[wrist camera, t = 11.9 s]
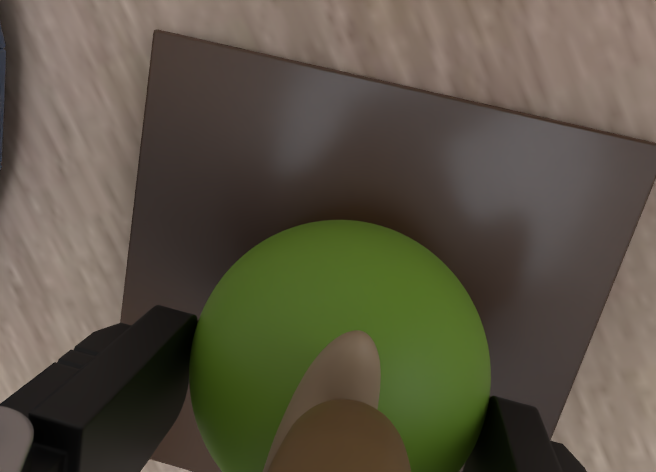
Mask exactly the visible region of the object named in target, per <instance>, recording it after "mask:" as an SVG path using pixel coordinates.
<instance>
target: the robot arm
mask: <svg viewBox="0 0 656 472" xmlns="http://www.w3.org/2000/svg"><path fill="white" fill-rule="evenodd" d="M197 323H198V319H197V316H196V315H194V314H191V313H187V312H183V311H179V310H176V309H172V308H168V307H164V306H161V305H156V306H154V307H153V308H152V309H150V310H149V311H148V312H147V313H146V314H144V315H143V316H142V317H141V318H140V319H139V320H137V321H136V322H135V323H134V324H133V325H127V324H124V323H118V324H116V325H113V326H110V327H107V328H104V329H101V330H98V331H96V332H93V333H92V334H91V335H89V336H88V337H87V338H86V339H84V340H83V341H82V342H80V343H79V344H78V345H76V346H75V348H74V350H70V351H69V352H67V353H66V354H65V355H63V356H62V357H61V358H59V360H58V362H57V363H56V362H54V363H53V364H52V365H50V366H49V367H48V368H46V369H45V370H44V371H42V372H41V373H40V374H39V375H37V376H36V377H35V378H33V379H32V380H31V381H29V382H28V383H27V384H26V385H24V386H23V387H22V388H20V389H19V390H18V391H16V392H15V393H14V394H12V395H11V396H10V397H9V398H7V399H6V400H5V401H3V402H2V403H1V404H0V472H140V471H141V470H142V468H143V467H144V466H145V464H146V463H147V461H148V460H149V459H150V457H151V456H152V454H153V453H154V451H155V450H156V449H157V447H158V446H159V444H160V443H161V441H162V440H163V439H164V437H165V436H166V434H167V433H168V432H169V430H170V429H171V427H172V426H173V424H174V423H175V421H176V420H177V418H178V416H179V414H180V412H181V409H182V407H183V404H184V401H185V398H186V394H187V390H188V384H189V363H190V353H191V347H192V342H193V337H194V333H195V330H196V326H197ZM463 472H586V470H585V468H584V467H583V466H582V465H581V463H580V462H579V461H578V460H577V459H576V458H575V457H574V456H573V455H572V454H571V452H570V451H569V450H568V449H567V448H566V447H565V446H564V445H563V444H561V443H557V442H553V441H550V439H549V436H548V434H547V431H546V429H545V426H544V424H543V421H542V419H541V416H540V414H539V411H538V409H537V408H536V407H534V406H531V405H527V404H523V403H519V402H516V401H512V400H508V399H505V398H501V397H497V396H491V397H490V398H489V403H488V409H487V413H486V417H485V421H484V424H483V427H482V430H481V433H480V435H479V438H478V440H477V442H476V444H475V446H474V448H473V450H472V452H471V454H470V456H469V457H468V459H467V461H466V462H465V465H464V468H463Z"/></svg>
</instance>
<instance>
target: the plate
mask: <svg viewBox="0 0 656 472" xmlns="http://www.w3.org/2000/svg"><path fill="white" fill-rule="evenodd" d="M5 47H6V44H5V39H4V35H3V31H2V27H1V22H0V170H1V168H2V165H1V163H2V153H3V128H4V103H5V78H6V50H5V49H3V48H5Z"/></svg>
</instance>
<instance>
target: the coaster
mask: <svg viewBox="0 0 656 472" xmlns="http://www.w3.org/2000/svg"><path fill="white" fill-rule="evenodd" d="M655 179H656V143H654V142H649V141H645V140H641V139H636V138H632V137H627V136H623V135H619V134H614V133H610V132H605V131H601V130H597V129H592V128H588V127H584V126H579V125H575V124H570V123H566V122H562V121H557V120H553V119H548V118H544V117H540V116H535V115H531V114H526V113H522V112H518V111H513V110H509V109H504V108H500V107H496V106H491V105H487V104H483V103H478V102H474V101H469V100H465V99H461V98H456V97H452V96H447V95H443V94H439V93H434V92H430V91H425V90H421V89H417V88H412V87H408V86H403V85H399V84H395V83H390V82H386V81H382V80H377V79H373V78H368V77H364V76H360V75H355V74H351V73H346V72H342V71H338V70H333V69H329V68H324V67H320V66H316V65H311V64H307V63H302V62H298V61H294V60H289V59H285V58H280V57H276V56H272V55H267V54H263V53H259V52H254V51H250V50H245V49H241V48H237V47H232V46H228V45H223V44H219V43H215V42H210V41H206V40H201V39H197V38H193V37H188V36H184V35H179V34H175V33H171V32H166V31H162V30H158V29H157V30H154V34H153V42H152V51H151V60H150V69H149V77H148V86H147V95H146V103H145V112H144V121H143V129H142V138H141V147H140V156H139V164H138V173H137V182H136V190H135V199H134V208H133V216H132V225H131V234H130V243H129V251H128V260H127V269H126V277H125V286H124V295H123V303H122V312H121V321H120V323H124V324H127V325H133V324H134V323H135V322H136V321H137V320H139V319H140V318H141V317H142V316H143V315H144V314H146V313H147V312H148V311H149V310H150V309H152V308H153V307H154V306H156V305H161V306H164V307H168V308H172V309H176V310H179V311H183V312H187V313H191V314H194V315H196V316H197V319H198V320H199V318H200V315H201V313H202V311H203V308H204V306H205V304H206V302H207V300H208V298H209V297H210V295H211V293H212V291H213V290H214V288H215V287H216V285H217V284H218V282H219V281H220V280H221V278H222V277H223V276H224V275H225V273H226V272H227V271H228V270H229V269H230V268H231V267H232V266H233V265H234V264H235V263H236V262H237V261H238V260H239V259H240V258H241V257H242V256H243V255H244V254H246V253H247V252H248V251H249V250H251V249H252V248H253V247H255V246H256V245H258V244H259V243H261V242H262V241H264V240H266V239H268V238H269V237H271V236H273V235H275V234H277V233H280V232H282V231H284V230H287V229H290V228H292V227H296V226H299V225H302V224H306V223H311V222H317V221H325V220H353V221H361V222H367V223H372V224H376V225H380V226H383V227H386V228H389V229H392V230H394V231H397V232H399V233H401V234H403V235H405V236H407V237H409V238H411V239H413V240H414V241H416V242H418V243H419V244H421V245H422V246H424V247H425V248H427V249H428V250H429V251H431V252H432V253H433V254H434V255H436V256H437V257H438V258H439V259H440V260H441V261H442V262H443V263H444V264H445V265H446V266H447V267H448V268H449V269H450V270H451V271H452V272H453V273H454V275H455V276H456V277H457V278H458V280H459V281H460V282H461V284H462V285H463V287H464V288H465V290H466V291H467V293H468V294H469V296H470V298H471V300H472V302H473V304H474V306H475V308H476V310H477V312H478V314H479V317H480V319H481V322H482V325H483V328H484V331H485V335H486V339H487V343H488V349H489V356H490V365H491V387H490V397H491V396H497V397H501V398H505V399H508V400H512V401H516V402H519V403H523V404H527V405H531V406H534V407H536V408H537V409H538V411H539V414H540V416H541V419H542V421H543V424H544V426H545V429H546V431H547V434H548V436H549V439H550V440H551V437H552V435H553V432H554V430H555V427H556V425H557V422H558V420H559V417H560V415H561V412H562V410H563V407H564V405H565V403H566V400H567V398H568V395H569V393H570V390H571V388H572V385H573V383H574V380H575V378H576V375H577V373H578V370H579V368H580V365H581V363H582V360H583V358H584V355H585V353H586V350H587V348H588V345H589V343H590V340H591V338H592V335H593V333H594V330H595V328H596V325H597V323H598V320H599V318H600V315H601V313H602V310H603V308H604V306H605V303H606V301H607V298H608V296H609V293H610V291H611V288H612V286H613V283H614V281H615V278H616V276H617V273H618V271H619V268H620V266H621V263H622V261H623V258H624V256H625V253H626V251H627V248H628V246H629V243H630V241H631V238H632V236H633V233H634V231H635V228H636V226H637V223H638V221H639V218H640V216H641V214H642V211H643V209H644V206H645V204H646V201H647V199H648V196H649V194H650V191H651V189H652V186H653V184H654V181H655ZM490 397H489V398H490ZM150 459H152V460H155V461H159V462H162V463H166V464H169V465H173V466H176V467H179V468H183V469H186V470H190V471H193V472H222V471H221V470H220V468H219V467H218V465H217V464H216V462H215V461H214V459H213V458H212V456H211V454H210V453H209V451H208V449H207V447H206V445H205V443H204V441H203V439H202V436H201V434H200V431H199V429H198V426H197V423H196V419H195V416H194V412H193V407H192V402H191V396H190V386H189V384H188V390H187V394H186V398H185V401H184V404H183V407H182V409H181V412H180V414H179V416H178V418H177V420H176V421H175V423H174V424H173V426H172V427H171V429H170V430H169V432H168V433H167V434H166V436H165V437H164V439H163V440H162V441H161V443H160V444H159V446H158V447H157V449H156V450H155V451H154V453H153V454H152V456H151V457H150ZM464 465H465V464H464ZM464 465H463V467H462V468H461V470H460V471H459V472H463V468H464Z"/></svg>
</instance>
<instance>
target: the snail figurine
mask: <svg viewBox="0 0 656 472" xmlns="http://www.w3.org/2000/svg"><path fill="white" fill-rule="evenodd" d="M189 386H190V396H191V402H192V407H193V412H194V416H195V419H196V423H197V426H198V429H199V431H200V434H201V436H202V439H203V441H204V443H205V445H206V447H207V449H208V451H209V453H210V454H211V456H212V458H213V459H214V461H215V462H216V464H217V465H218V467H219V468H220V470H221V471H222V472H459V471H460V470H461V468H462V467H463V465H464V464H465V462H466V461H467V459H468V457H469V456H470V454H471V452H472V450H473V448H474V446H475V444H476V442H477V440H478V438H479V435H480V433H481V430H482V427H483V424H484V421H485V417H486V413H487V409H488V403H489V397H490V387H491V365H490V356H489V349H488V343H487V339H486V335H485V331H484V328H483V325H482V322H481V319H480V317H479V314H478V312H477V310H476V308H475V306H474V304H473V302H472V300H471V298H470V296H469V294H468V293H467V291H466V290H465V288H464V287H463V285H462V284H461V282H460V281H459V280H458V278H457V277H456V276H455V275H454V273H453V272H452V271H451V270H450V269H449V268H448V267H447V266H446V265H445V264H444V263H443V262H442V261H441V260H440V259H439V258H438V257H437V256H436V255H434V254H433V253H432V252H431V251H429V250H428V249H427V248H425V247H424V246H422V245H421V244H419V243H418V242H416V241H414V240H413V239H411V238H409V237H407V236H405V235H403V234H401V233H399V232H397V231H394V230H392V229H389V228H386V227H383V226H380V225H376V224H372V223H367V222H361V221H353V220H325V221H317V222H311V223H306V224H302V225H299V226H296V227H292V228H290V229H287V230H284V231H282V232H280V233H277V234H275V235H273V236H271V237H269V238H268V239H266V240H264V241H262V242H261V243H259V244H258V245H256V246H255V247H253V248H252V249H251V250H249V251H248V252H247V253H246V254H244V255H243V256H242V257H241V258H240V259H239V260H238V261H237V262H236V263H235V264H234V265H233V266H232V267H231V268H230V269H229V270H228V271H227V272H226V273H225V275H224V276H223V277H222V278H221V280H220V281H219V282H218V284H217V285H216V287H215V288H214V290H213V291H212V293H211V295H210V297H209V298H208V300H207V302H206V304H205V306H204V308H203V311H202V313H201V315H200V318H199V320H198V323H197V326H196V330H195V333H194V337H193V342H192V347H191V353H190V363H189Z"/></svg>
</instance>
